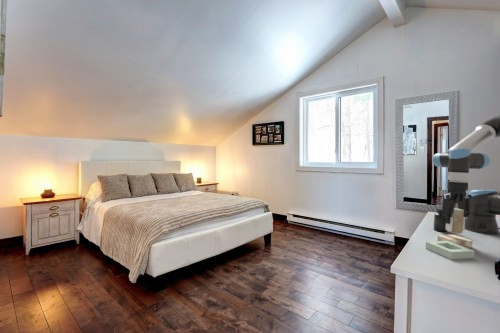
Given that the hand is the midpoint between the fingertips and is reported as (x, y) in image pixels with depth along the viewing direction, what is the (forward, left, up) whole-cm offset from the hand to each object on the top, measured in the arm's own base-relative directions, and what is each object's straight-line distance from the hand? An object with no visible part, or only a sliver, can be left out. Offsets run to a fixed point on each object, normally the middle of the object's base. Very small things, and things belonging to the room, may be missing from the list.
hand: (454, 230), depth 119 cm
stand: (0, 0, -7) cm, 7 cm away
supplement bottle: (-14, -20, -7) cm, 25 cm away
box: (0, 0, -1) cm, 1 cm away
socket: (+13, +9, -7) cm, 17 cm away
